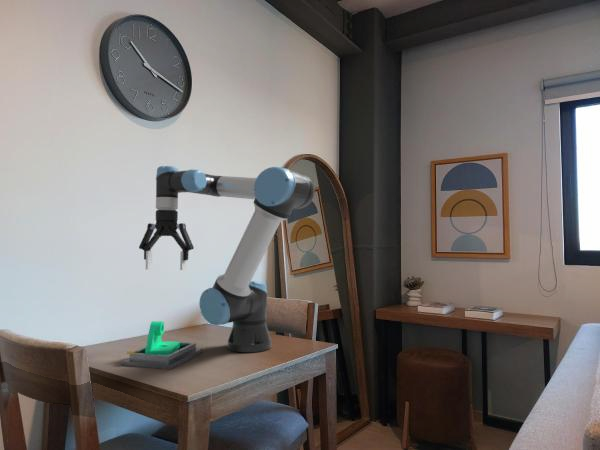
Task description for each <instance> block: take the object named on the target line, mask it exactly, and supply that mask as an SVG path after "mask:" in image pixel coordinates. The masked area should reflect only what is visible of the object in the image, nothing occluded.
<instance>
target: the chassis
mask: <svg viewBox="0 0 600 450" xmlns="http://www.w3.org/2000/svg"><path fill="white" fill-rule="evenodd" d="M162 342H173V341H169V340H162ZM179 342H180V347H179V348H178V351H175V352H173V353H171V354H169V355H157V354H145V349H146V346H145V347H142V348H140V349H137V350H136V349H135V350H134V349H133V350H132V349H130V350H128V351H127V352H126V354H127V355H129V358H127V359H124V360H121V366H124V367H125V366H127V367H136V368H137V367H138V368H147V369H148V368H151V369H152V368H153V369H161V370H162V369H163V370H172V369H175V368H176V367H178V366H180V365H182V364H183V363H185V362H187V361H189V360H190V359H192V358H194V357H195V356H198V355H199V354H202V353H203V348H202V347H197V343H196V342H185V341H179Z"/></svg>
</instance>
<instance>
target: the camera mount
mask: <svg viewBox="0 0 600 450" xmlns="http://www.w3.org/2000/svg"><path fill="white" fill-rule="evenodd" d="M164 333H165V322H164V321H156V320H155V321H151V322H150V324H149V330H148V334H147V339H146V345H145V347H146V349H145V354H157V355H169V354H171V353H173V352H175V351H178V348H179V347H180V342H181V341H172V342H162V341H163V340H162V339H163V338H162V336H163V335H164Z"/></svg>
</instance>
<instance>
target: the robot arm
mask: <svg viewBox="0 0 600 450" xmlns="http://www.w3.org/2000/svg"><path fill="white" fill-rule="evenodd" d="M155 184H156V186H155V188H156V189H155V196H156V197H155V209H156V211H155V221H156V222H155V223H150V222H149V223H147V226H146V227H147V228H146V231H145V233H144V235H143V237H142V239H141V242H140V244H139V246H138V248H139V250H143V260H145V270H152V269H153V265H152V264H153V250H152V248H153V247H154V246H155V244H156V243H157V242H158V240H160V238H161V237H163V236H164V237H172V238H173V239H174V241H175V242H176V244H177V245H178V246H179V247H180V249H181V250H180V255H179V257H180V259H179V260H180V265H179V266H180V269H179V270H180V271H186V270H187V261H189V251H192V250H194V248H195V247H194V245H193V243H192V241H191V238H190V235H189V234H188V231H187V228H186V227H187V226H186V223H183V222H182V223H178V217H179V216H178V214H179V213H178V207H179V204H178V203H179V194H180V193H189V194H190V193H192V194H197V195H198V194H199V195H205V196H206V195H207V196H212V197H217V198H218V197H226V198H235V199H245V200H246V199H247V200H253V202H252V203H253V205H254V209H255V210H254V212H253V214H252V216H251V218H250V220H249V222H248V224H247V226H246V228H245V230H244V232H243V234H242V236H241V239H240V240H239V242H238V245H237V247H236V249H235V251H234V254H233V255H232V257H231V260H230V262H229V263H228V265H227V268H226V270H225V272H224V273H223V274H221V275H218V276H217V278H216V280H215V282H214V283H213V286H212V287H209V288H207V289H205V290H204V291H202V293H201V295H200V298H199V301H198V302H199V309H200V313H201V315H202V317H203V319H204V320H205V321H206V322H207V323H209V324H210V325H213V326H219V325H227V324H230V323H232V327H231V330H230V333H229V337H228V339H227V349H228V350H229V351H233V352H236V353H237V352H238V353H259V352H264V351H267V350H270V349H271V348H272V339H271V336H270V333H269V332H270V331H269V329H268V325H267V302H268V300H267V298H268V297H267V295H268V290H267V288H268V287H267V284H266V283H265V282H263V281H256V280H255V281H252V280H253V278H254V276H255V273H257V272H256V271H257V270H258V268H259V266H260V263H261V262H262V261H263V258H264V256H265V254H266V252H267V250H268V248H269V246H270V244H271V242H272V240H273V238H274V236H275V234H276V232H277V229H278V228H279V226H280V224H281V222H284V221H286V220H288V219H289V217H290V216H291V214H292V211H293V210H301V209H304V208H306V207H308V205H310V204H311V203H312V202H313V200H314V196H315V193H316V192H315V186H314V183H313V181H312V179H311V178H310V177H309V176H308V175H307V174H304V173H302V172H298V171H294V170H292V169H288V168H286V167H281V166H280V167H279V166H271V167H267V168H266V169H264V170H262V171H261V172H260V173H259V174H258V175H257V176H256V177H243V176H241V177H240V176H230V175H229V176H226V175H213V174H207V173H204V172H203V171H202V170H200V169H193V168H192V169H188V170H179V169H178V167H176V166H172V165H161V166H158V168H157V169H156V176H155ZM177 230H179V232H180V233H178V231H177ZM154 231H155V232H154ZM152 235H153V236H152ZM180 235H181V236H180Z"/></svg>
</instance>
